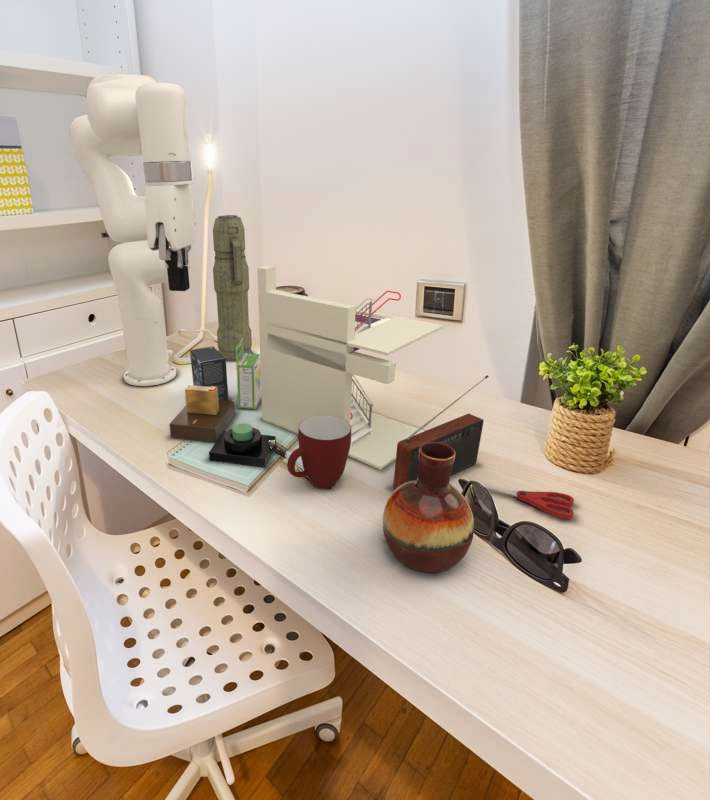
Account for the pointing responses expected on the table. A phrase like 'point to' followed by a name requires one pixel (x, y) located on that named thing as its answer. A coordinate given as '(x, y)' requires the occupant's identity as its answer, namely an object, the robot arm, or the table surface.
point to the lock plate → (202, 423)
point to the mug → (322, 450)
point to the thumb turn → (202, 399)
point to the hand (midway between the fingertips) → (179, 289)
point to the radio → (454, 433)
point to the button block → (242, 449)
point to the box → (210, 370)
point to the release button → (242, 432)
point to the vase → (429, 515)
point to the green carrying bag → (231, 286)
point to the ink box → (248, 378)
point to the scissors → (544, 501)
